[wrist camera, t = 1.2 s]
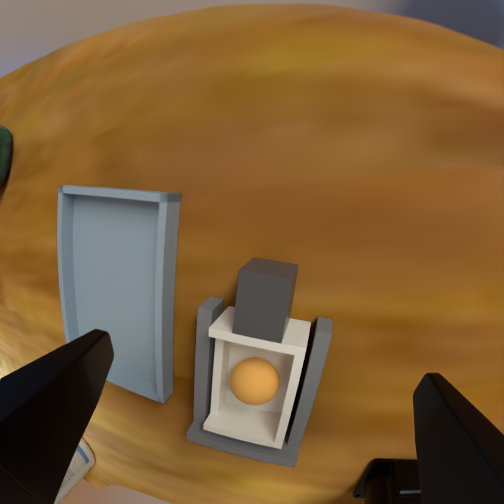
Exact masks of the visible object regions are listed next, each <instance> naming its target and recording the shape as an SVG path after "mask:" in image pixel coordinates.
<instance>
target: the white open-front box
mask: <svg viewBox="0 0 504 504" xmlns="http://www.w3.org/2000/svg"><path fill="white" fill-rule="evenodd" d="M297 271H298V265H296V264H290V263H284V262H278V261H272V260H266V259H260V258H252V259H251V260H250V261H249V262H248V263H247V264H245V265H244V266H243V267H242V268H241V269H239V276H238V285H237V294H236V303H235V307H231V306H228V308H227V309H226V310H225V311H224V312H223V313H222V314H221V315H220V316H219V317H218V319H217V320H216V321H215V322H214V323H213V324H212V325H211V326H210V327H209V335H208V336H209V337H213V338H216V340H215V353H214V366H213V380H212V395H211V411H210V414H209V416H208V418H207V419H206V421H205V423H204V426H203V429H204V430H207V431H210V432H214V433H217V434H220V435H224V436H228V437H231V438H235V439H239V440H243V441H247V442H251V443H255V444H260V445H264V446H269V447H274V448H279V449H281V448H282V444H283V441H284V437H285V434H286V430H287V426H288V423H289V419H290V415H291V411H292V407H293V403H294V400H295V396H296V391H297V387H298V383H299V379H300V375H301V371H302V366H303V362H304V357H305V353H306V348H307V343H308V337H309V331H310V325H311V322H308V321H303V320H297V319H292V318H290V313H291V307H292V301H293V296H294V289H295V283H296V277H297ZM253 357H257V358H262V359H265V360H267V361H269V362H270V363H272V364H273V365H274V366H275V368H276V369H277V371H278V373H279V377H280V386H279V389H278V392H277V394H276V395H275V396H274V397H273V399H271V400H270V401H269V402H267V403H265V404H262V405H248V404H245V403H243V402H241V401H240V400H238V399H237V398H236V397H235V396H234V394H233V392H232V390H231V387H230V376H231V373H232V371H233V369H234V368H235V366H236V365H237V364H238V363H240V362H241V361H243V360H245V359H248V358H253Z"/></svg>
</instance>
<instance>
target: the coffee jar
mask: <svg viewBox="0 0 504 504" xmlns="http://www.w3.org/2000/svg"><path fill="white" fill-rule="evenodd" d="M11 148H12V135H11V133H10V131H9V130H8V129H7V128H5V127H3V126H1V125H0V187H1V186H2V185H3V183H4V181H5V178H6V175H7V172H8V170H9V167H10V162H11V155H12V149H11Z"/></svg>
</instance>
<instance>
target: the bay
mask: <svg viewBox="0 0 504 504" xmlns="http://www.w3.org/2000/svg"><path fill="white" fill-rule="evenodd" d="M223 306H224V299H223V298H219V297H214V296H211V297H209V298H208V299H207V300H206V301H205V302H204V303H202V304H201V305H200V306H199V307H198V314H197V333H196V354H195V381H194V422H193V423H192V425H191V426H190V428H189V429H188V431H187V432H186V436H187V441H190V442H193V443H196V444H200V445H203V446H206V447H209V448H212V449H216V450H219V451H223V452H226V453H230V454H234V455H238V456H242V457H246V458H250V459H254V460H258V461H263V462H267V463H272V464H277V465H282V466H288V467H293V468H294V467H295V465H296V462H297V458H298V453H299V448H300V445H301V442H302V439H303V435H304V432H305V429H306V426H307V423H308V420H309V417H310V413H311V410H312V407H313V403H314V400H315V396H316V393H317V389H318V386H319V382H320V379H321V375H322V371H323V368H324V364H325V360H326V356H327V352H328V348H329V344H330V340H331V336H332V319H330V318H324V317H318V319H317V323H316V328H315V333H314V337H313V342H312V346H311V351H310V355H309V360H308V364H307V368H306V372H305V376H304V380H303V384H302V388H301V392H300V396H299V400H298V404H297V408H296V412H295V415H294V419H293V423H292V426H291V425H288V426H287V430H286V434H285V437H284V441H283V444H282V448H281V449H279V448H274V447H269V446H264V445H260V444H255V443H251V442H247V441H243V440H239V439H235V438H231V437H228V436H224V435H220V434H217V433H214V432H210V431H207V430H204V429H203V426H204V423H205V421H206V419H207V418H208V416H209V414H210V411H211V395H212V380H213V366H214V353H215V340H216V338H213V337H209V336H208V335H209V327H210V326H211V325H212V324H213V323H214V322H215V321H216V320H217V319H218V317H219V316H220V315H221V314H222V313H223Z"/></svg>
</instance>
